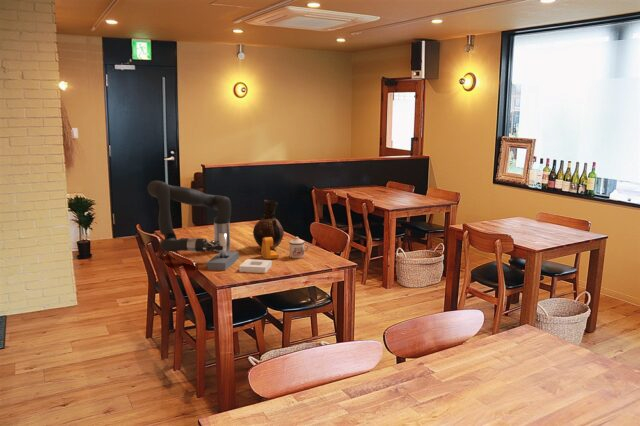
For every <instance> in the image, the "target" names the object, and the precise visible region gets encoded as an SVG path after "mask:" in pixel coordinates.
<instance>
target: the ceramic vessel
mask: <svg viewBox="0 0 640 426" xmlns="http://www.w3.org/2000/svg"><path fill="white" fill-rule="evenodd" d="M263 204H264V214H263V215H262V218H261V219H260V220H258V221H257V223H255V224H254V227H253V233H252V234H253V238H254V241H255V242H256V244H257V246H258V247H260V248H261V249H262V242H263V238H266V237H272V238H273V246H270V250H274V249H276V248H278V247H279V245H280V244H281V242H282V240H283V238H284V234H285V233H284V232H285V231H284V228H283V226H282V225H281V223H280V221H279V220H278V219H277V218H276V217H275V215H276V213H275V212H276V209H277V207H278V204H279V203H278V202H277V201H275V200H269V199H264V201H263Z"/></svg>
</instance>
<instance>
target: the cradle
mask: <svg viewBox="0 0 640 426" xmlns="http://www.w3.org/2000/svg"><path fill="white" fill-rule="evenodd" d="M272 262H273V261H272V260H271V259H253V258H252V259H249V258H247V259H245V261H243V262H242V263H241V264H240V265H239V268H238V269H239V272H240V273H256V274H257V273H259V274H266V273H267V272H268V270H270V268H271V267H272V266H273V265H272V264H273V263H272Z"/></svg>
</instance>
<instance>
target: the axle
mask: <svg viewBox="0 0 640 426" xmlns="http://www.w3.org/2000/svg"><path fill="white" fill-rule="evenodd" d="M219 246H223V250H220V252H219V253H220V258H227V233H220V234H219Z"/></svg>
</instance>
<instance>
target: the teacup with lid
mask: <svg viewBox="0 0 640 426" xmlns="http://www.w3.org/2000/svg"><path fill="white" fill-rule="evenodd" d="M288 244H289V248H288V249H289V254H288V257H289V258H291V257H292V258H291V259H301V258H300V257H303V258H305V253H306V252H308V250H309V249H310V248H309V247H310V246H309V244H308V243H305V240H303V239H300V238H299V236H296V237H295V238H293V239H291V240H289V241H288ZM305 246H306V249H305Z"/></svg>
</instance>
